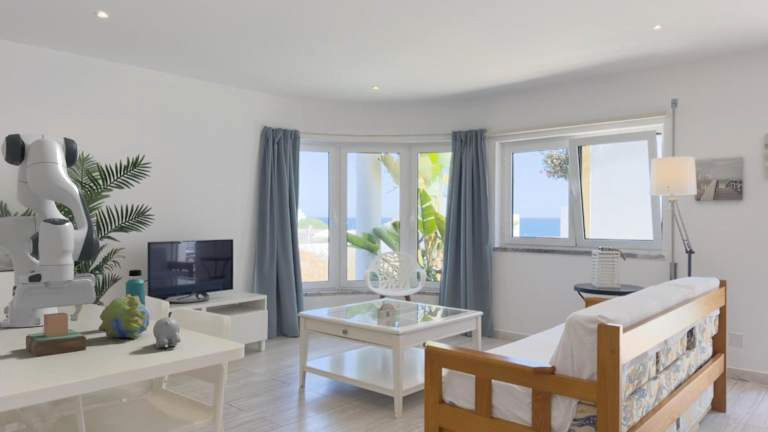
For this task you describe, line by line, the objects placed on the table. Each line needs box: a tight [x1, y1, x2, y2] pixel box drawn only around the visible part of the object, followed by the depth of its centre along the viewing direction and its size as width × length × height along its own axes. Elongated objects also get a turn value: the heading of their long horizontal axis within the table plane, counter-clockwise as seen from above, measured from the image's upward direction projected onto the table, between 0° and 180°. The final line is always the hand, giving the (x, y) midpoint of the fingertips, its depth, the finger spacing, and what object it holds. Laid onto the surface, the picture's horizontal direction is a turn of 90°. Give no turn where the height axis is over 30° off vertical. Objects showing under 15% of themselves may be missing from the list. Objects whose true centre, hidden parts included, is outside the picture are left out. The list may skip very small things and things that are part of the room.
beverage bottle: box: [125, 269, 146, 306], centre depth 191 cm, size 6×7×20 cm
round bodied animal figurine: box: [152, 316, 182, 349], centre depth 160 cm, size 7×12×8 cm, turn 34°
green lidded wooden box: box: [25, 328, 87, 357], centre depth 157 cm, size 14×12×4 cm
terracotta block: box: [43, 311, 69, 338], centre depth 157 cm, size 5×5×6 cm
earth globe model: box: [98, 294, 151, 340], centre depth 172 cm, size 14×16×15 cm
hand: (55, 322), depth 157 cm, fingers open, 8 cm apart
